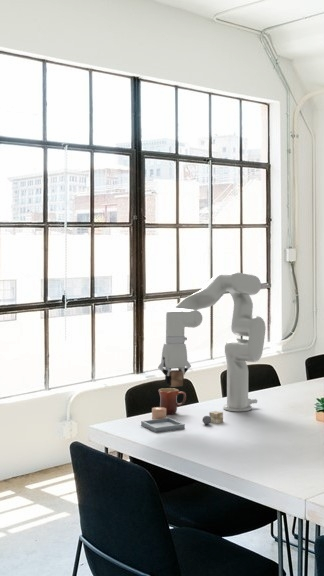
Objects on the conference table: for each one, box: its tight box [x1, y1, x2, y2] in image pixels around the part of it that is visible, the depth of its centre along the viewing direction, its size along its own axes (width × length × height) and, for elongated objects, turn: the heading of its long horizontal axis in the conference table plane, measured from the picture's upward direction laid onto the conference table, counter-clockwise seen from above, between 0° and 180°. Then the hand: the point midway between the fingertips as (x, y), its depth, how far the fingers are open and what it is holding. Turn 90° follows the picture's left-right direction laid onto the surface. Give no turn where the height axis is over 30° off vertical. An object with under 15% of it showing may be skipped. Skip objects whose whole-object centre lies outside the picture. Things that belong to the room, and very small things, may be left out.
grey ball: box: [202, 415, 212, 426], centre depth 294 cm, size 4×4×4 cm
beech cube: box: [208, 410, 224, 424], centre depth 299 cm, size 4×4×4 cm
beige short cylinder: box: [151, 406, 167, 420], centre depth 301 cm, size 6×6×5 cm
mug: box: [158, 387, 187, 416], centre depth 314 cm, size 12×9×10 cm
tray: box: [140, 417, 185, 433], centre depth 290 cm, size 13×13×2 cm
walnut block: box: [169, 369, 184, 388], centre depth 293 cm, size 5×5×6 cm
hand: (174, 384), depth 294 cm, fingers closed on walnut block, 5 cm apart
